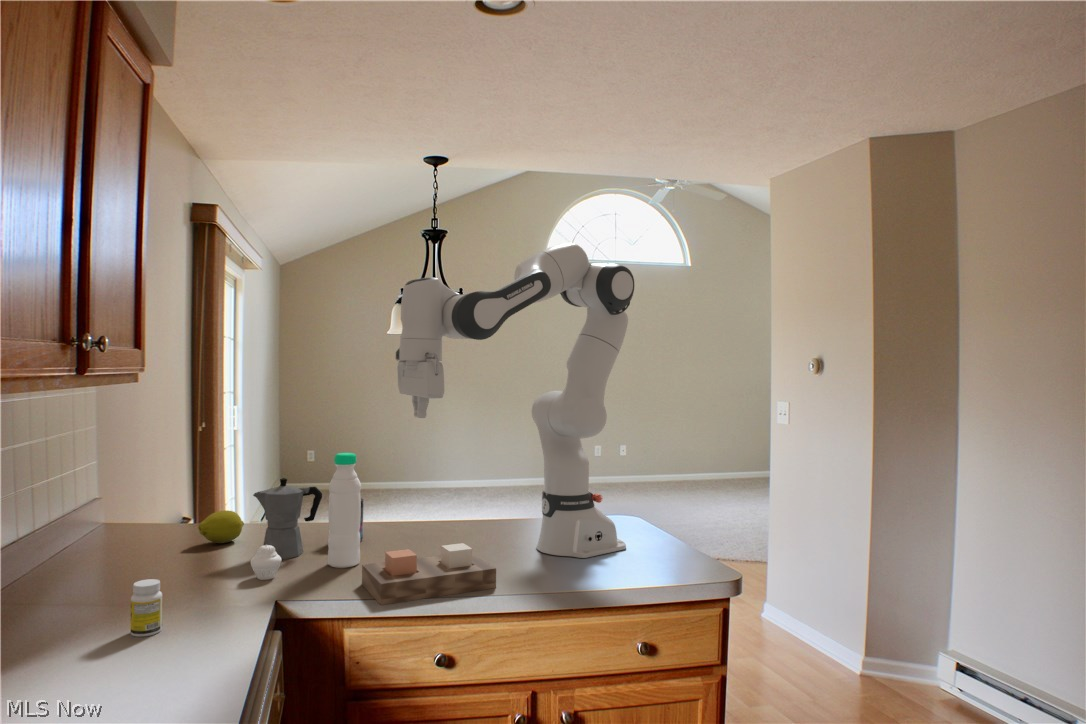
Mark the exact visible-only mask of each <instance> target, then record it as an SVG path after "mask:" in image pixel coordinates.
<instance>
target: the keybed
mask: <svg viewBox="0 0 1086 724" xmlns="http://www.w3.org/2000/svg"><path fill="white" fill-rule="evenodd" d="M361 585H362V586H363V587H364V588H365V589H366V590H367V592H368V593H369V594H370V596H372V597H373V598H374V600H376V602H377V603H378V604H379V605H380V606H383V605H391V604H396V603H402V602H404V603H405V602H410V601H417V600H423V599H430V598H436V597H442V596H449V595H456V594H463V593H470V592H477V591H483V590H489V589H496V588H497V568H496V567H495V566H493V565H492V564H490V563H489V562H487V561H485V560H484V559H482V558H481V557H479V556H478V555H476V554H475V553H473V552H472V565H471V566H464V567H456V568H449V569H448V568H446V567H445V566H444V565H442V564H441V554H440V555H433V556H432V555H431V556H424V557H417V573H411V574H403V575H396V576H390V575H389V574H388V573H387V572H385V561H382V562H374V563H368V564H367V563H366V564H365V563H364V564H361Z"/></svg>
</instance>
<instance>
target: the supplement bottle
mask: <svg viewBox="0 0 1086 724" xmlns="http://www.w3.org/2000/svg"><path fill="white" fill-rule="evenodd" d="M160 590H161V581H160V579H157V578H156V579H155V578H152V579H151V578H150V579H141V580H138V581H134V583H133V586H132V593H133V594H132V596H130V634H131V636H133V637H137V638H139V637H140V638H141V637H143V638H144V637H150V636H154V635H157V634H159V633H160V632H161V631H162V629H163V592H162V591H160Z"/></svg>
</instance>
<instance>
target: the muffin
mask: <svg viewBox="0 0 1086 724" xmlns="http://www.w3.org/2000/svg"><path fill="white" fill-rule="evenodd" d="M282 560H283V559H281V557H280V556H279V555H278V554H277V552H276V551H275V548H274V547H273V546H271V545H265V546H263V545H261V546H260V547H258V549H257V550H256V553H255V555H254V556H253V557H252V558H251V560H250V566H251V569H252V570H253V572H254V575H255V576H256V578H257V579H258V580H259V581H260V580H262V581H265V580H266V581H267V580H271V579H273V578H275V576H276V574H277V572H278V570H279V568H280V566H281V564H282Z"/></svg>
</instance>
